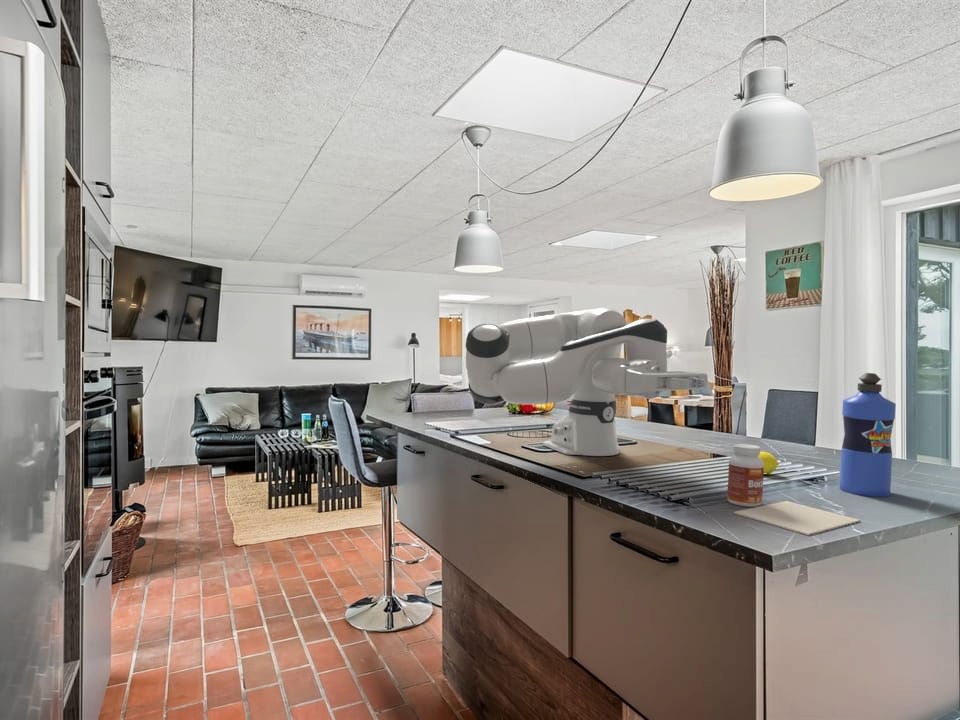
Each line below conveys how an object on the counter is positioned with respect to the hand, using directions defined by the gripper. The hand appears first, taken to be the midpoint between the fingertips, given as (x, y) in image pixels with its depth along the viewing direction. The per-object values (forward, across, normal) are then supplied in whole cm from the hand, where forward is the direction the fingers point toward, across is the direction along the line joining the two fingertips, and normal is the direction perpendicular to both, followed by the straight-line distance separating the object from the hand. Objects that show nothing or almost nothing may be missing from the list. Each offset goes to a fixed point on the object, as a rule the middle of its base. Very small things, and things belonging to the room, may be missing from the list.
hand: (696, 383), depth 125 cm
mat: (+22, 0, -22) cm, 31 cm away
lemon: (-2, -27, -22) cm, 35 cm away
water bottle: (+18, -32, -22) cm, 43 cm away
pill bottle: (+12, 0, -22) cm, 25 cm away
